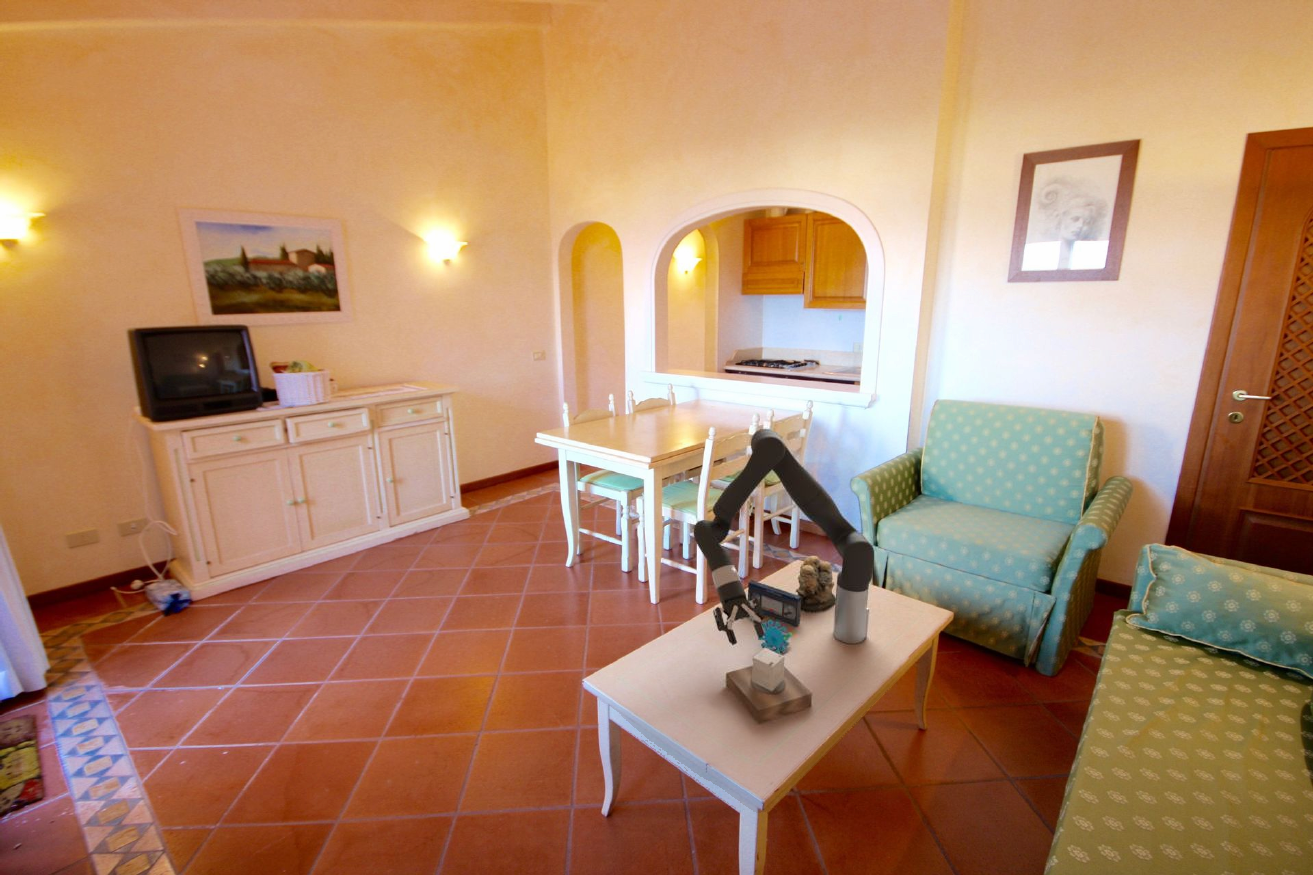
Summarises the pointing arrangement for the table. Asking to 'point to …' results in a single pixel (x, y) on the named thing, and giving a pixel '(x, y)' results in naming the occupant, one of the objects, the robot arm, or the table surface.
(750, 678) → the platform
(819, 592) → the owl figurine
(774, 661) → the skincare box
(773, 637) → the gear
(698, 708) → the table surface
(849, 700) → the table surface
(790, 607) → the vhs cassette tape
